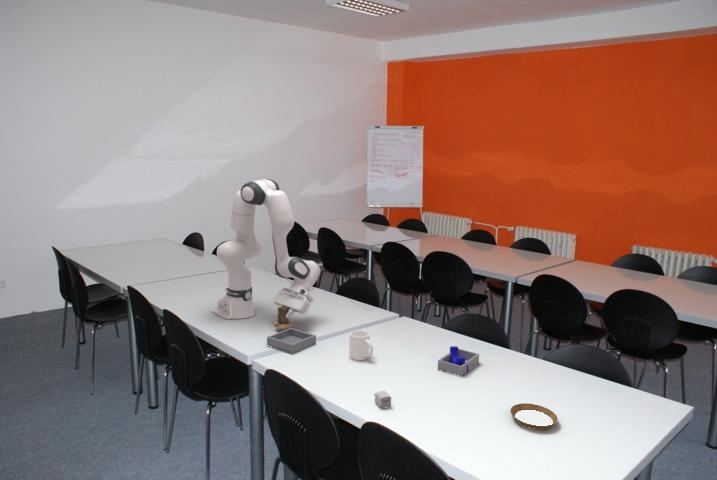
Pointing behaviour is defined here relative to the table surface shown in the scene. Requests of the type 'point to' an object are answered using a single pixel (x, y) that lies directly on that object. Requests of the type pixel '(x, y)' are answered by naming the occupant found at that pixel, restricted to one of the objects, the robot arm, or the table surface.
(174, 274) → the table surface
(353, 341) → the mug
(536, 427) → the brown ring
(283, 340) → the box
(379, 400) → the usb wall charger
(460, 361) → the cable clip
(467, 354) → the desk organiser frame
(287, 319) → the oak scraper block
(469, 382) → the table surface
